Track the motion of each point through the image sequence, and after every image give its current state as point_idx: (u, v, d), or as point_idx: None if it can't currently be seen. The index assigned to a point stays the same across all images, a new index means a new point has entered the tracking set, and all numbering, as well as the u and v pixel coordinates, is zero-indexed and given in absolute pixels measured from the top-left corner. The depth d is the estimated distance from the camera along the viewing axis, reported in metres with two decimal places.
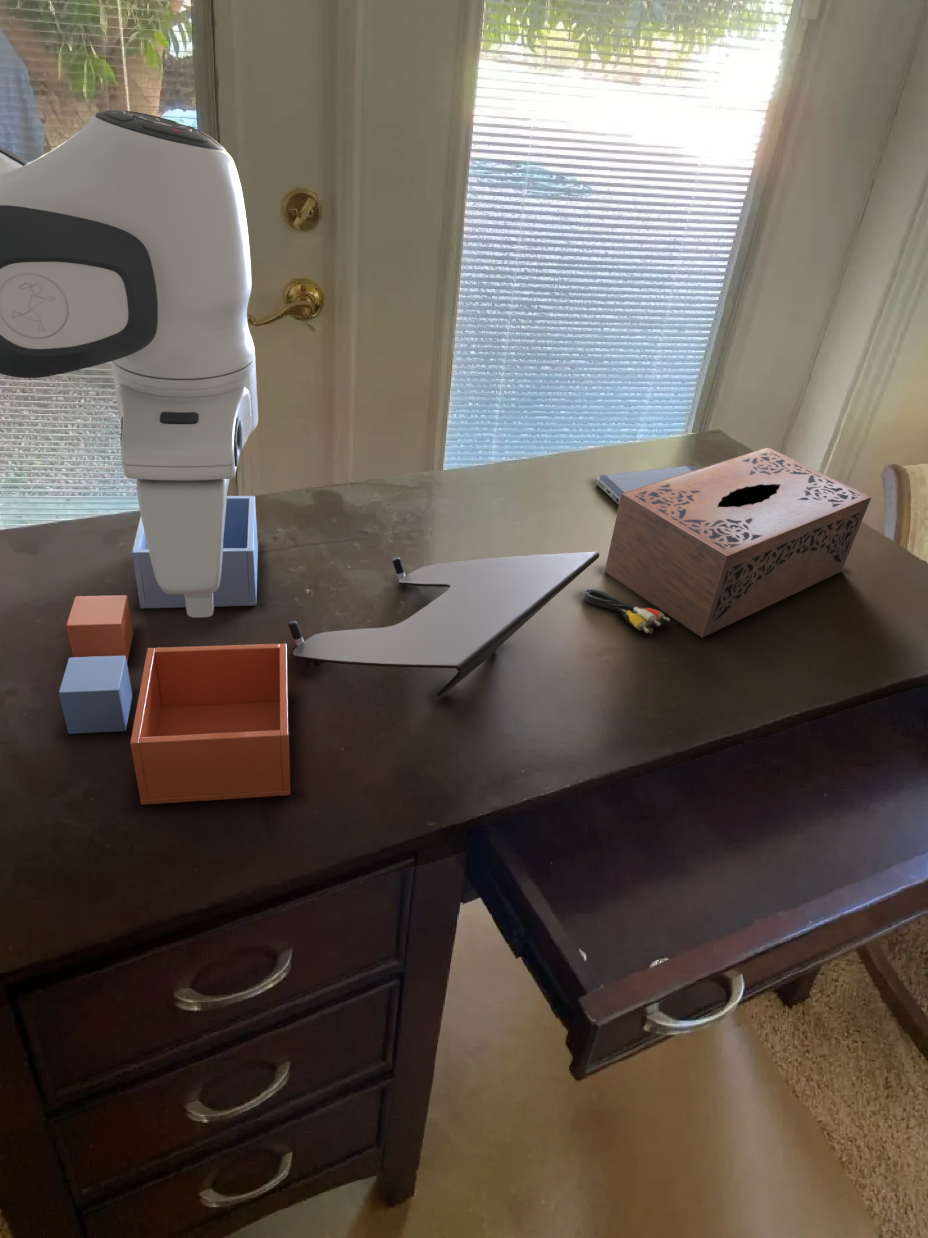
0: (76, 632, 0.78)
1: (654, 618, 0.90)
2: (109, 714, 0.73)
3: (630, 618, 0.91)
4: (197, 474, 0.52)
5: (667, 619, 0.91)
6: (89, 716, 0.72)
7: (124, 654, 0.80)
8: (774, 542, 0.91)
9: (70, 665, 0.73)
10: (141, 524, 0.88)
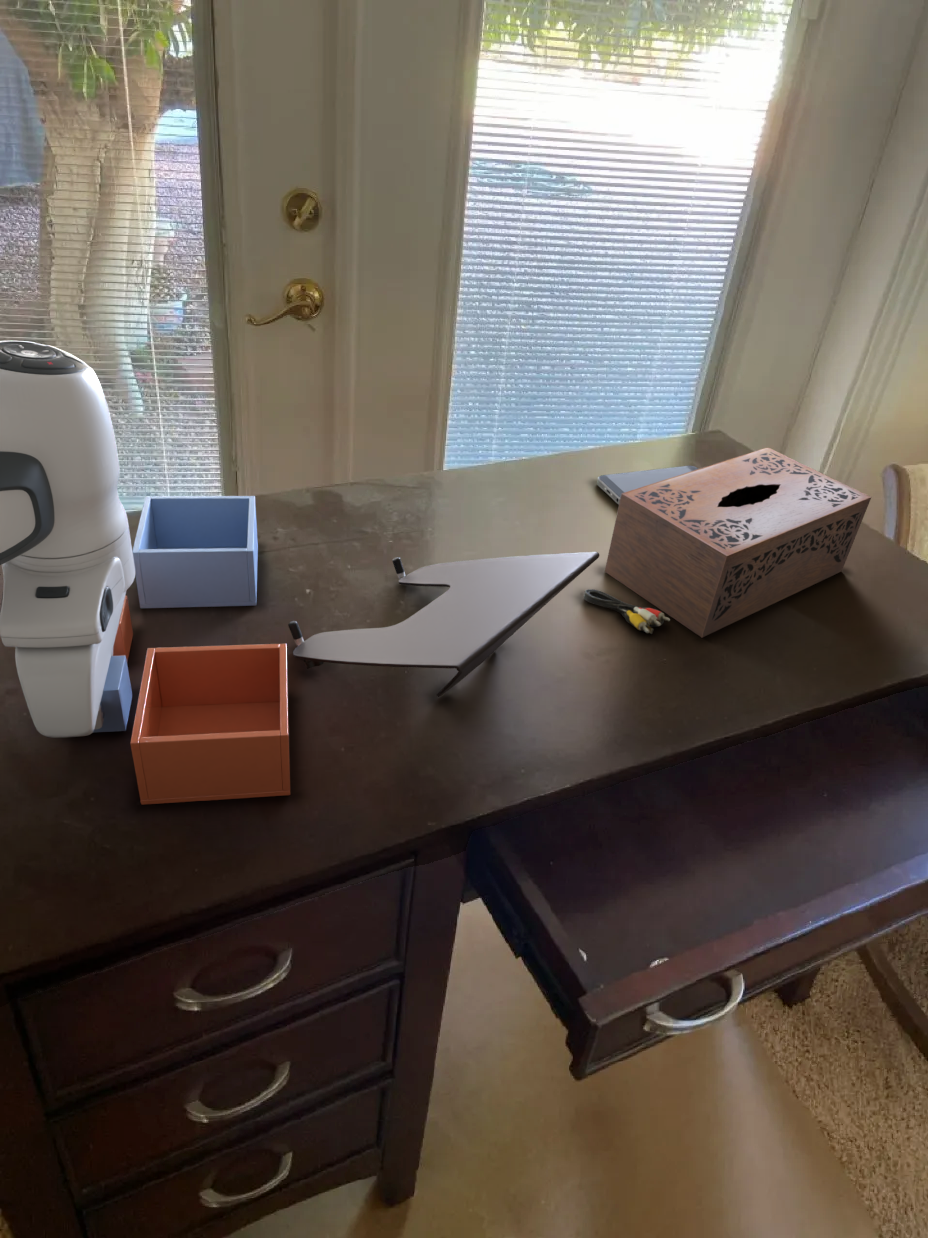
0: None
1: (654, 618, 0.90)
2: (109, 714, 0.73)
3: (630, 618, 0.91)
4: (66, 643, 0.60)
5: (667, 619, 0.91)
6: None
7: (124, 654, 0.80)
8: (774, 542, 0.91)
9: None
10: (141, 524, 0.88)
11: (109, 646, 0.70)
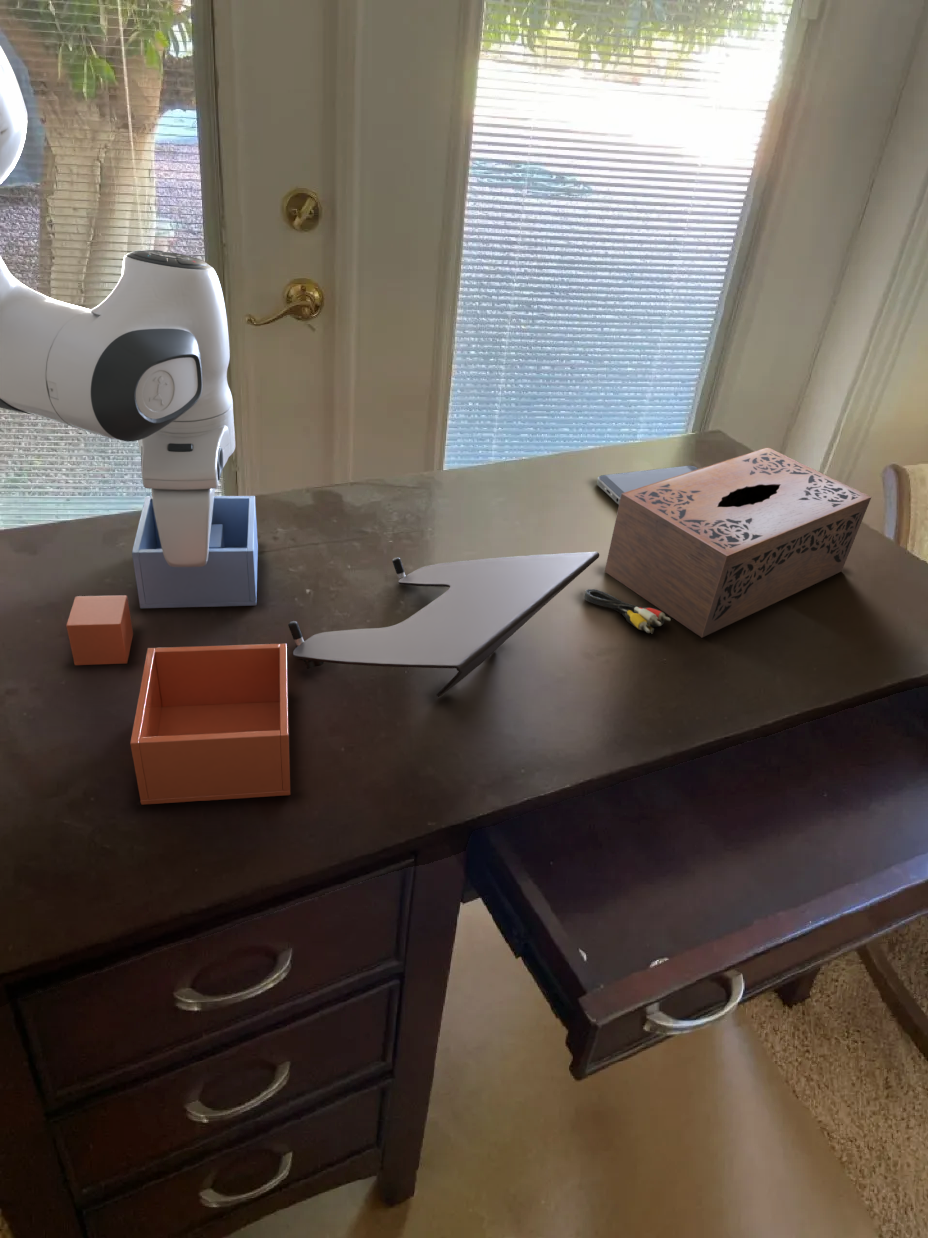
0: (76, 632, 0.78)
1: (655, 618, 0.90)
2: None
3: (631, 618, 0.91)
4: (192, 485, 0.78)
5: (668, 619, 0.91)
6: None
7: (124, 654, 0.80)
8: (774, 542, 0.91)
9: None
10: (141, 524, 0.88)
11: None
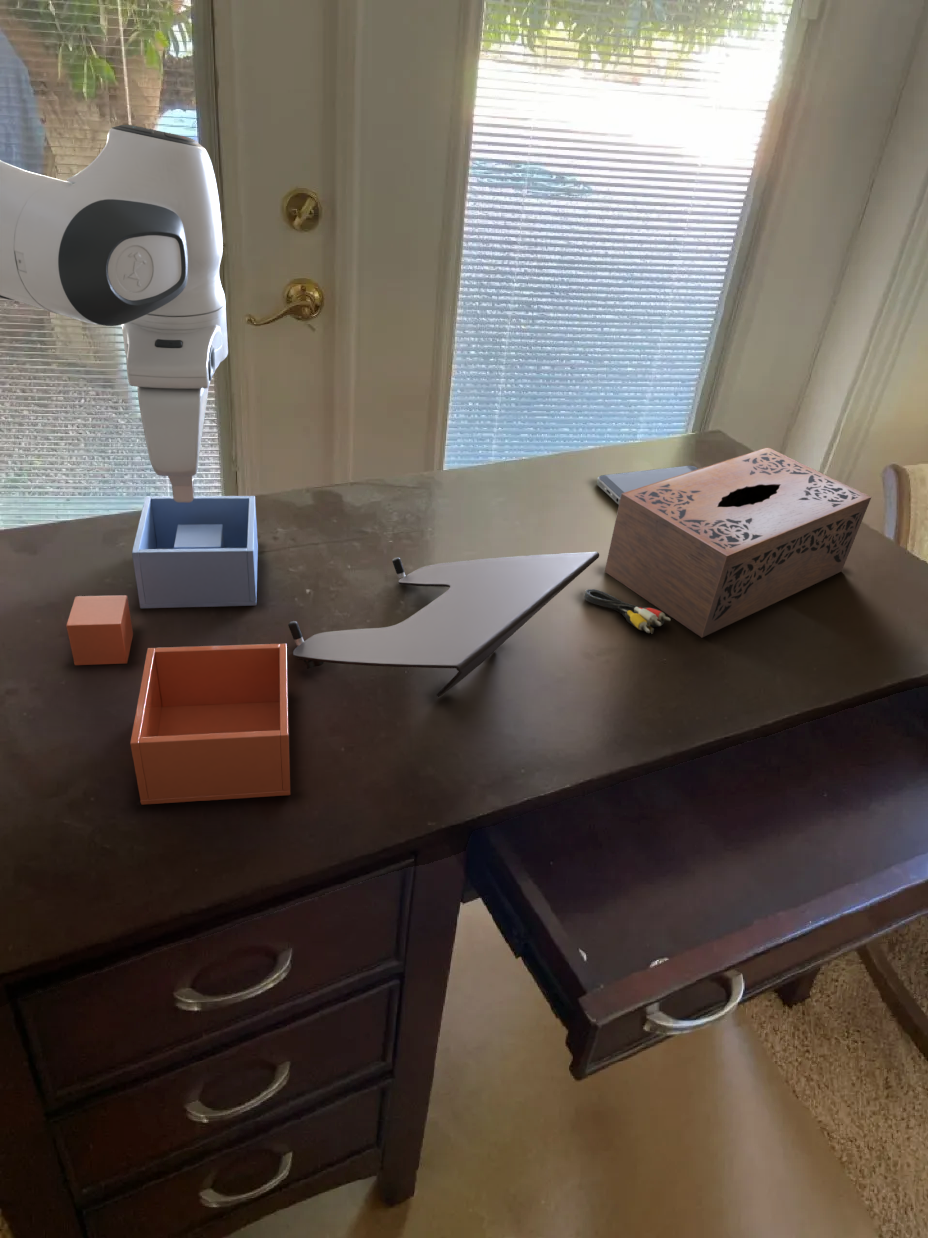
0: (76, 632, 0.78)
1: (655, 618, 0.90)
2: None
3: (631, 618, 0.91)
4: (181, 383, 0.72)
5: (668, 619, 0.91)
6: None
7: (124, 654, 0.80)
8: (774, 542, 0.91)
9: (179, 529, 0.91)
10: (141, 524, 0.88)
11: (202, 419, 0.83)
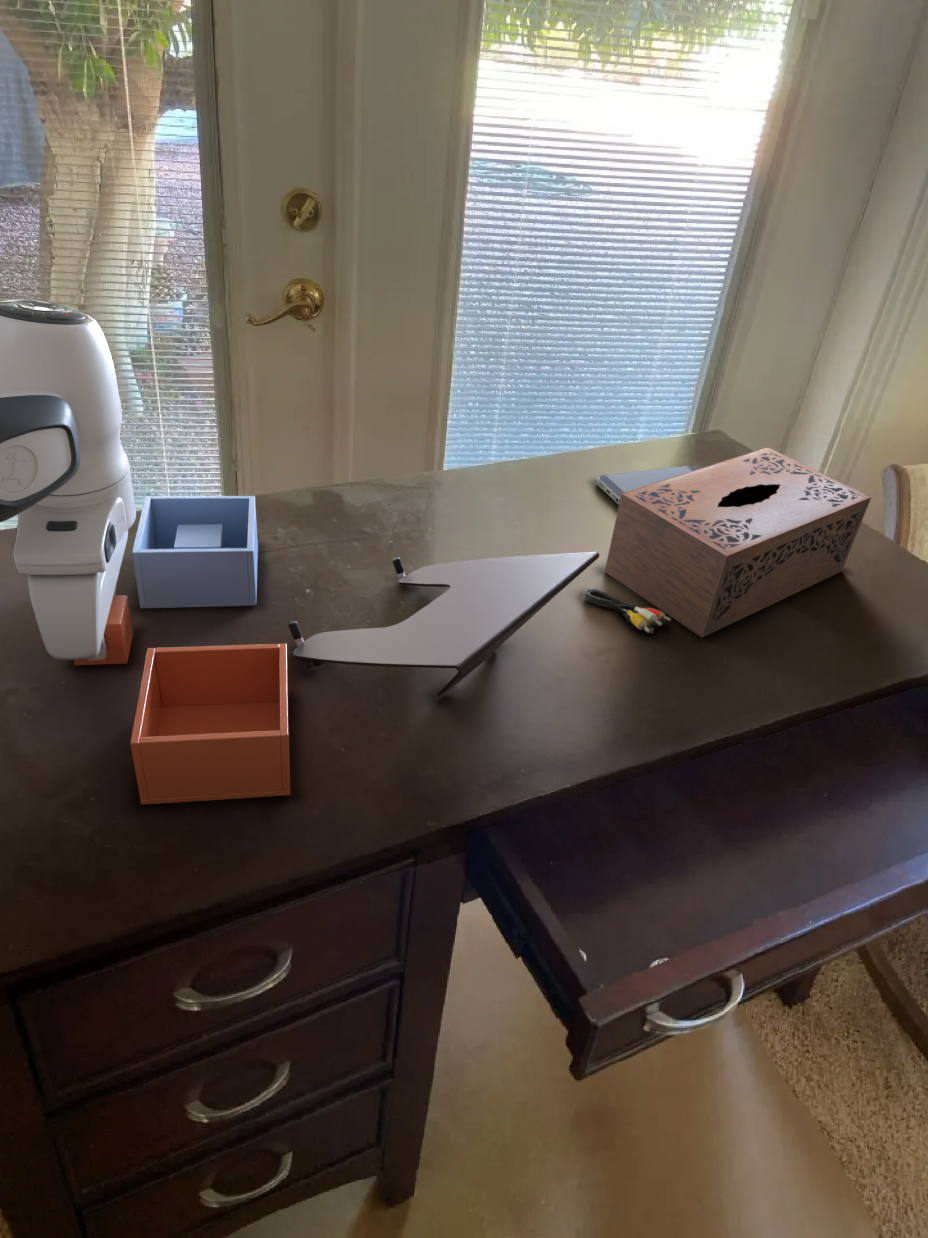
0: None
1: (655, 618, 0.90)
2: None
3: (631, 618, 0.91)
4: (74, 570, 0.67)
5: (668, 619, 0.91)
6: None
7: (124, 654, 0.80)
8: (774, 542, 0.91)
9: (179, 529, 0.91)
10: (141, 524, 0.88)
11: (112, 583, 0.77)
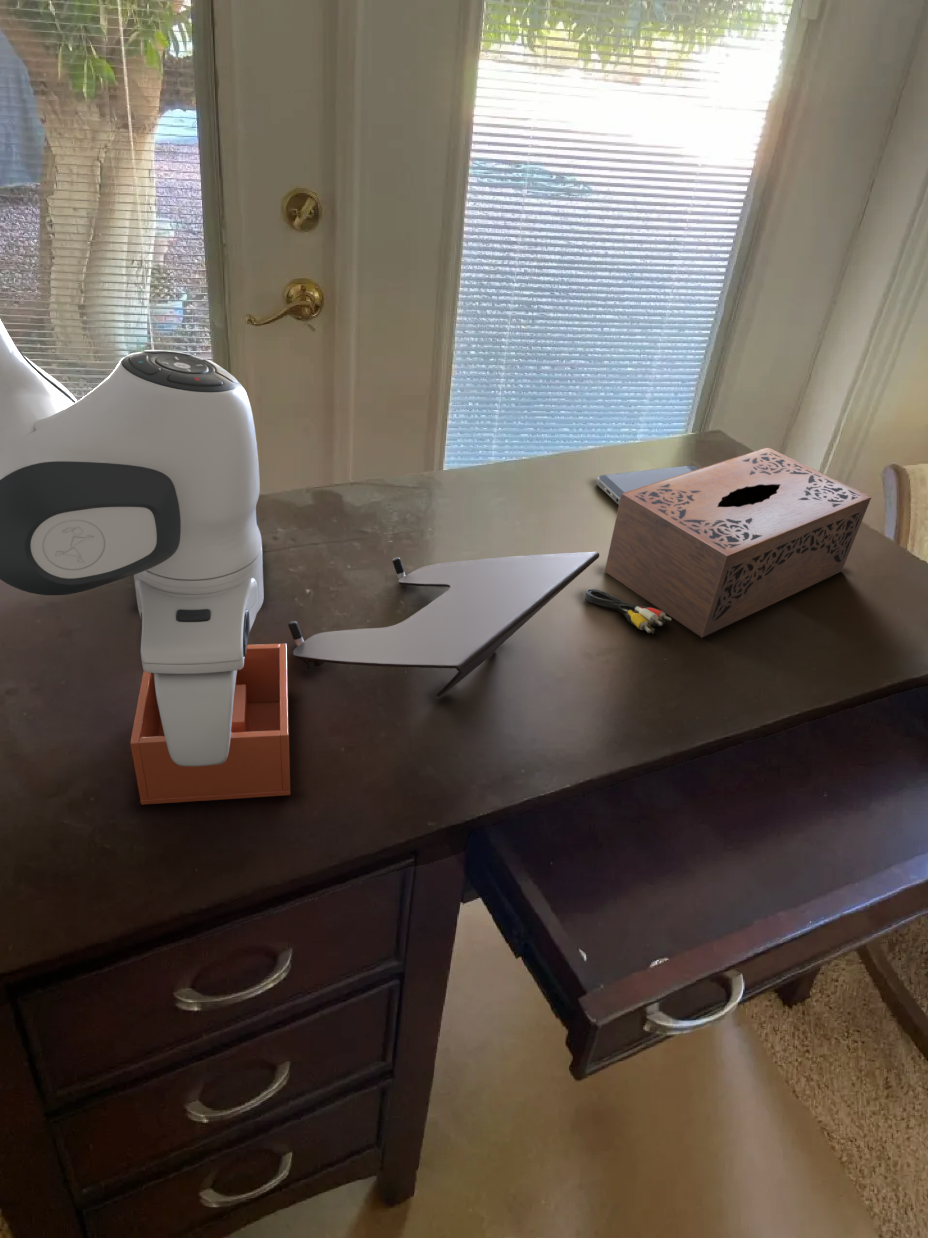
0: None
1: (656, 618, 0.90)
2: None
3: (632, 618, 0.91)
4: (209, 669, 0.57)
5: (668, 619, 0.91)
6: None
7: None
8: (774, 542, 0.91)
9: None
10: None
11: None
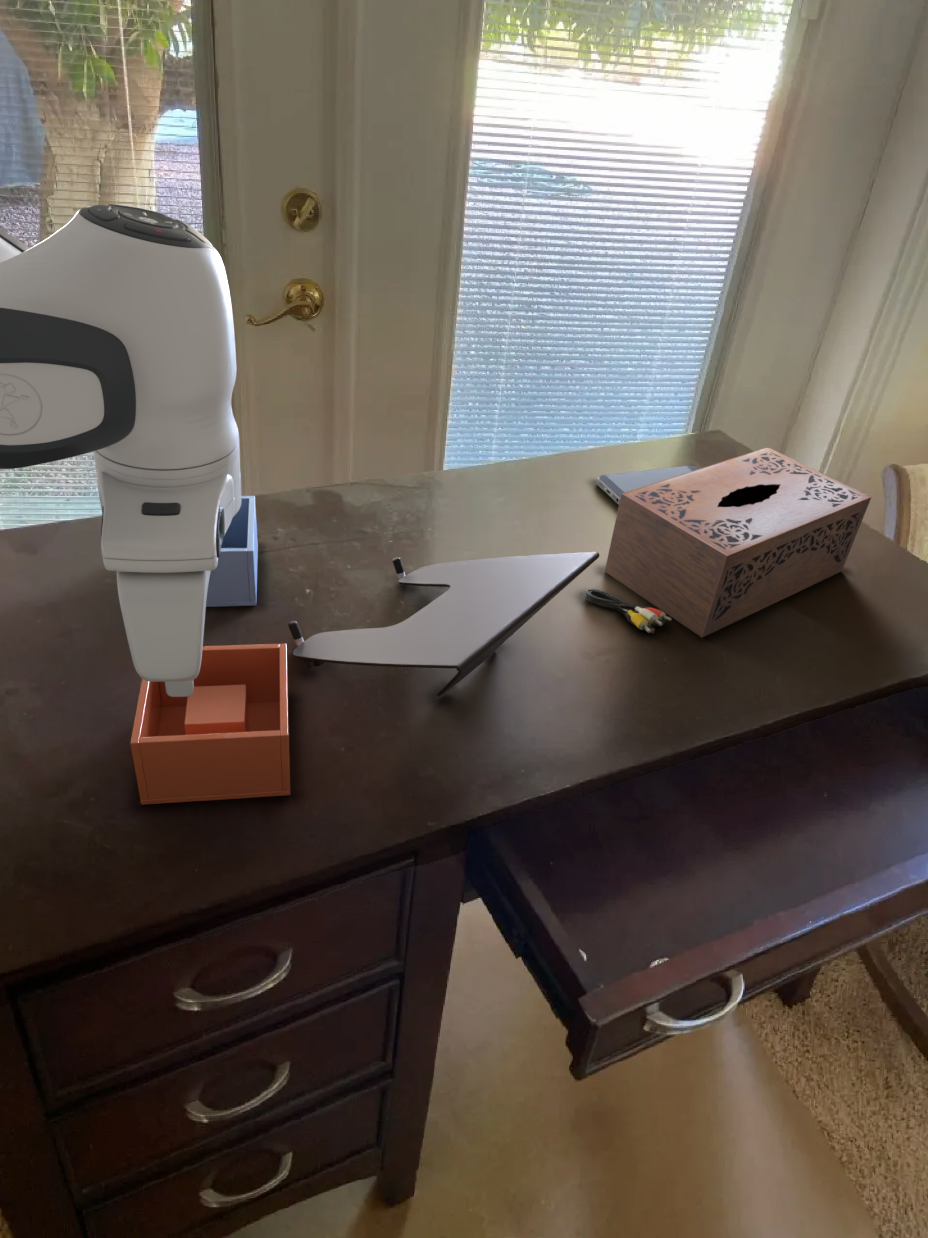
0: (194, 731, 0.69)
1: (656, 618, 0.90)
2: None
3: (632, 618, 0.91)
4: (178, 567, 0.52)
5: (669, 619, 0.91)
6: None
7: None
8: (774, 542, 0.91)
9: None
10: None
11: None
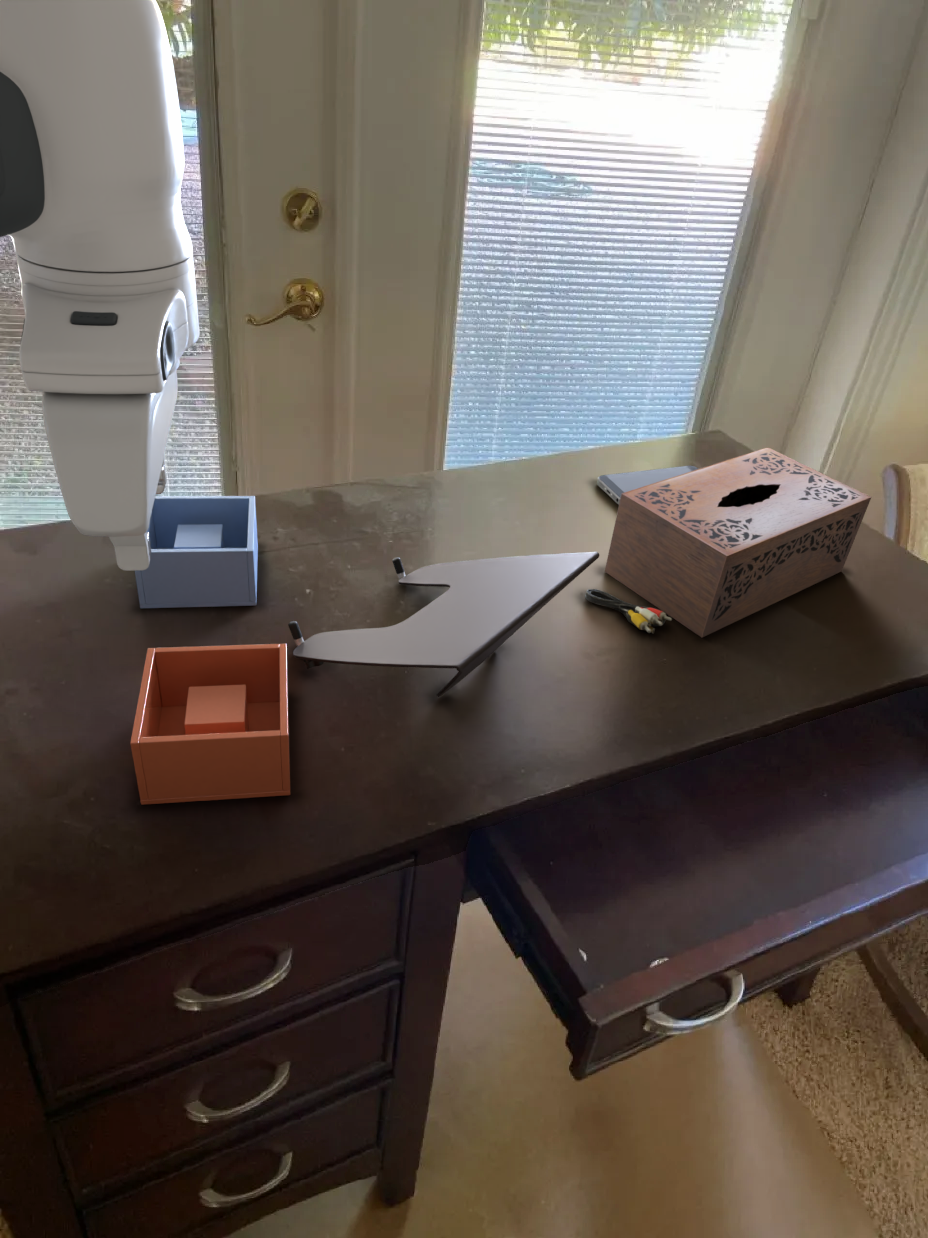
0: (194, 731, 0.69)
1: (656, 618, 0.90)
2: None
3: (632, 618, 0.91)
4: (114, 385, 0.43)
5: (669, 619, 0.91)
6: None
7: None
8: (774, 542, 0.91)
9: (179, 529, 0.91)
10: None
11: (162, 440, 0.53)
